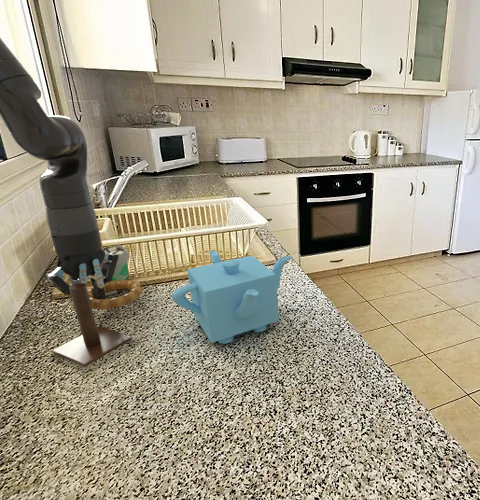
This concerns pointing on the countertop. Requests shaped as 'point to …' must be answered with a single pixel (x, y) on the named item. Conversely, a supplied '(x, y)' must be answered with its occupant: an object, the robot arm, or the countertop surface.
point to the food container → (118, 265)
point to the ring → (117, 301)
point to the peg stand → (89, 333)
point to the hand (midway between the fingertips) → (93, 306)
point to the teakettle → (232, 296)
